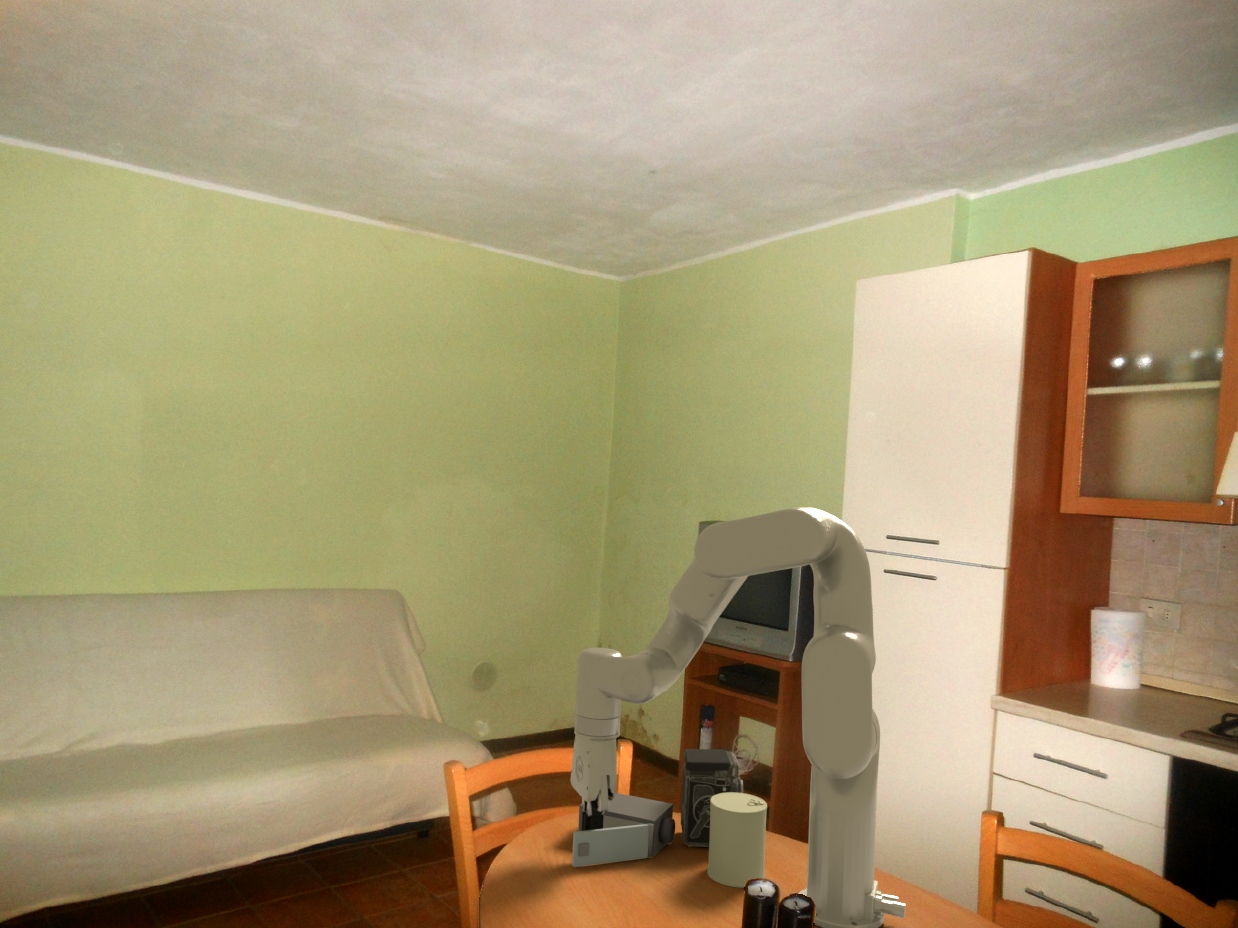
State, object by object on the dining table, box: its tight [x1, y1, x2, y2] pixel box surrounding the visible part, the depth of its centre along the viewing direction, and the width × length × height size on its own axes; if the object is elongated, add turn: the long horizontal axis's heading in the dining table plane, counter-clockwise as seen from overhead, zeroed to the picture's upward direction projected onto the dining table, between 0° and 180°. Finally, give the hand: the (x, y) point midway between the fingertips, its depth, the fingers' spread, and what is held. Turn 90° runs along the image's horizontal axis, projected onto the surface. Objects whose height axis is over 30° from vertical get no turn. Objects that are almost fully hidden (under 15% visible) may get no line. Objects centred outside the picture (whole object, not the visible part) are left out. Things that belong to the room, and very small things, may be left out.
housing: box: [577, 792, 676, 858], centre depth 148 cm, size 16×9×7 cm, turn 67°
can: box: [706, 792, 768, 889], centre depth 136 cm, size 9×9×12 cm
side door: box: [571, 823, 654, 868], centre depth 138 cm, size 14×2×5 cm, turn 111°
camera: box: [680, 748, 744, 848], centre depth 149 cm, size 10×10×15 cm
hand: (591, 836), depth 139 cm, fingers closed
